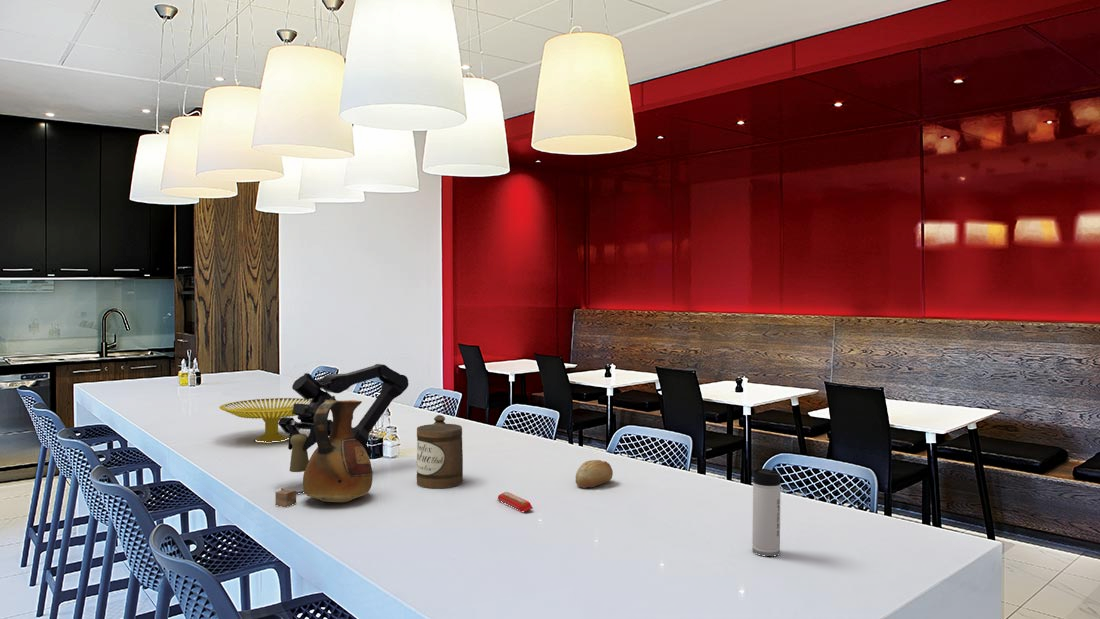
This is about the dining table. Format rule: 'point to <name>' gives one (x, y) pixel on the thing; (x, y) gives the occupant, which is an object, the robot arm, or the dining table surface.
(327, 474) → the ceramic pitcher
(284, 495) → the walnut block
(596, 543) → the dining table surface
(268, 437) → the cake stand
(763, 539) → the travel mug
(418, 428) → the wooden container
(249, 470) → the dining table surface
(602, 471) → the bread roll
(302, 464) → the cork
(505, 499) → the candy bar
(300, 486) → the coaster
